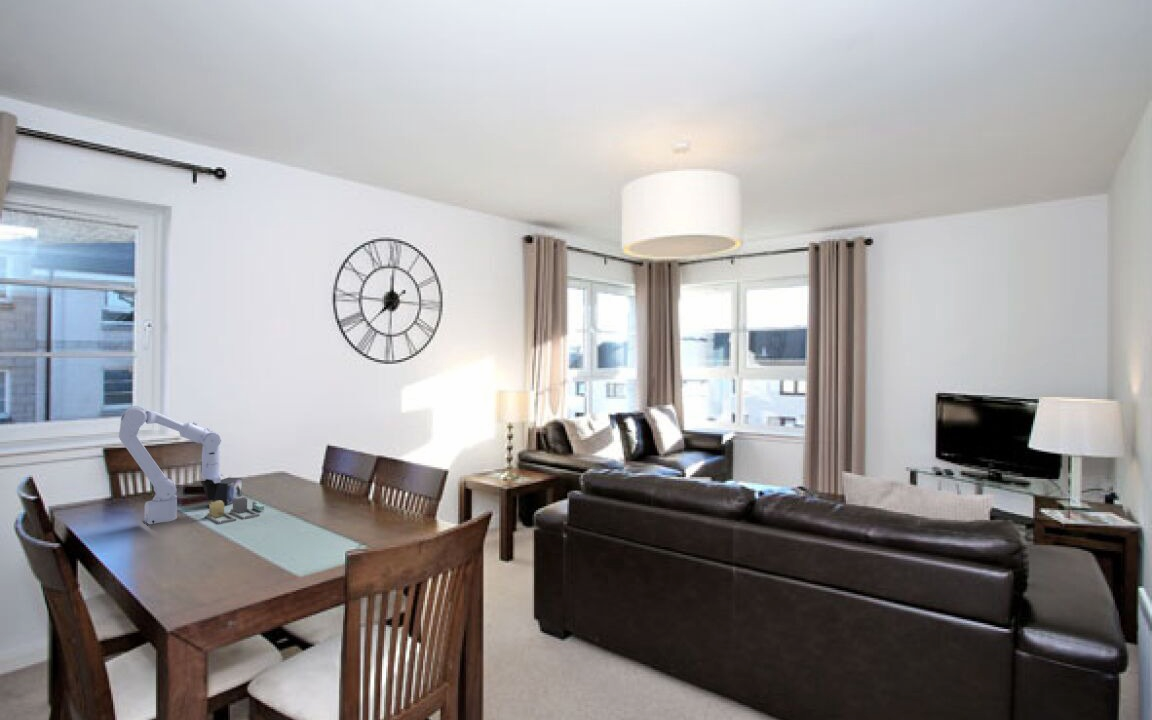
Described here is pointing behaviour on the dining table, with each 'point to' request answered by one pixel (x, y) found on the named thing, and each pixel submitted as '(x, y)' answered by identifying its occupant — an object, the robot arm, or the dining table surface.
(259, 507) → the paddle
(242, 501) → the slider graphite
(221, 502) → the slider brass
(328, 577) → the dining table surface
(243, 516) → the control board
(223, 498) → the small box
